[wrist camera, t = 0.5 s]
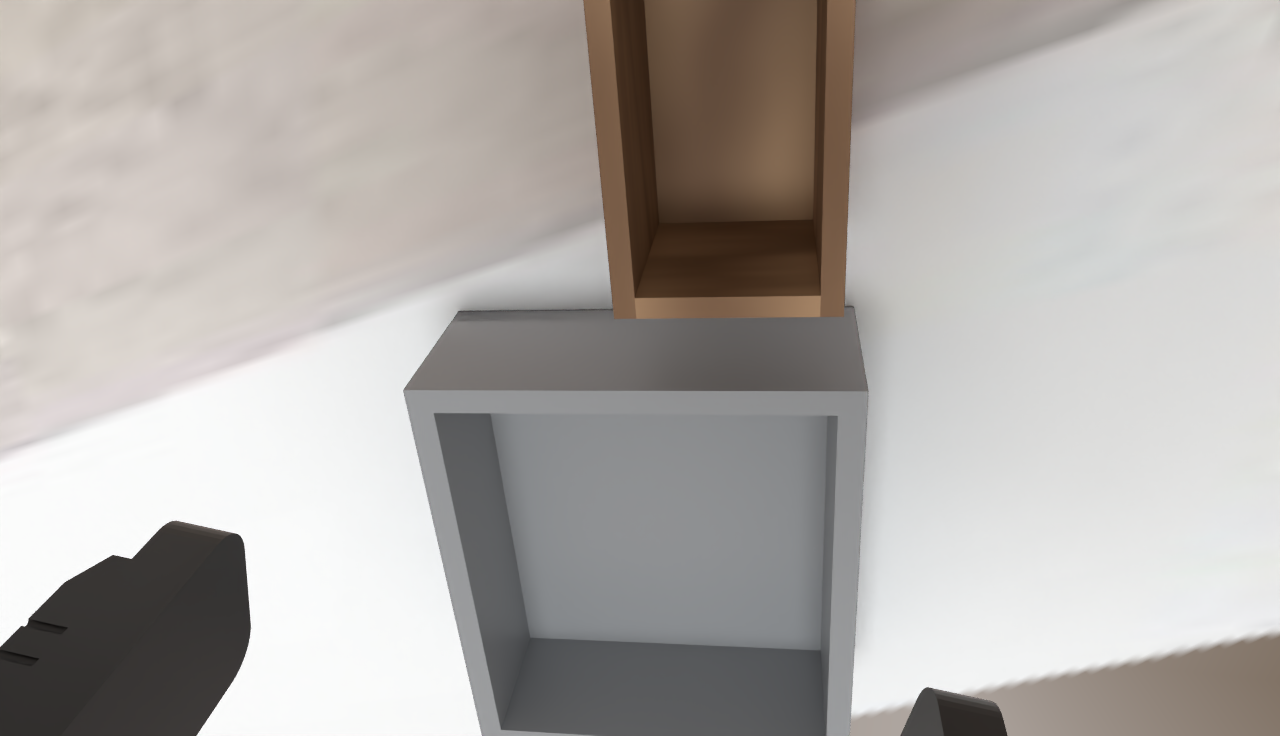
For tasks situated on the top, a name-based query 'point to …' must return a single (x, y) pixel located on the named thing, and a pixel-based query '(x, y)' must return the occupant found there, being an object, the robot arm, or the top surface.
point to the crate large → (648, 518)
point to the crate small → (724, 154)
